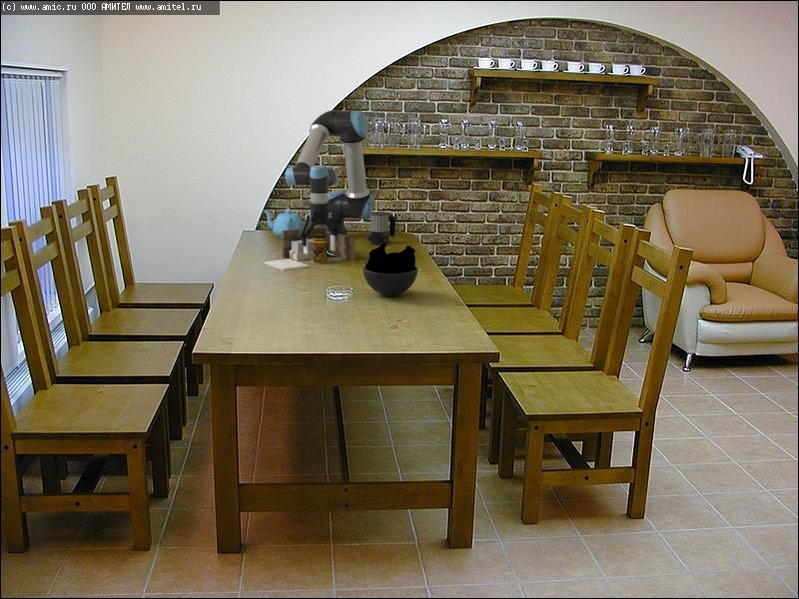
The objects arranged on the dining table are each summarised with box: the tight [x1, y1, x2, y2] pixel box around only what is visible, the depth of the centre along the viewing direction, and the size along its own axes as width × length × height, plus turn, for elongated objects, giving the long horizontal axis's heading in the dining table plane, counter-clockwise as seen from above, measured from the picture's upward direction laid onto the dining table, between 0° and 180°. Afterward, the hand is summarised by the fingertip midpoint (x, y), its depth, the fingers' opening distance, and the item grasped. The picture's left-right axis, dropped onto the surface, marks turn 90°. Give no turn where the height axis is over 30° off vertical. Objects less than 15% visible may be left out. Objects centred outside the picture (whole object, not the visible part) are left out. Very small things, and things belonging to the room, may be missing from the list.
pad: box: [264, 258, 310, 271], centre depth 363 cm, size 16×12×1 cm
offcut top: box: [292, 239, 314, 252], centre depth 378 cm, size 5×12×4 cm, turn 128°
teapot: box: [263, 209, 311, 240], centre depth 425 cm, size 16×20×14 cm
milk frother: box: [365, 211, 397, 246], centre depth 418 cm, size 14×16×15 cm
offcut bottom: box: [289, 250, 313, 262], centre depth 379 cm, size 6×14×4 cm, turn 129°
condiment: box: [309, 234, 331, 265], centre depth 370 cm, size 7×8×12 cm
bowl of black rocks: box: [362, 244, 419, 296], centre depth 313 cm, size 20×20×19 cm
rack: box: [281, 226, 356, 262], centre depth 375 cm, size 22×23×12 cm
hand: (319, 252), depth 370 cm, fingers open, 13 cm apart
